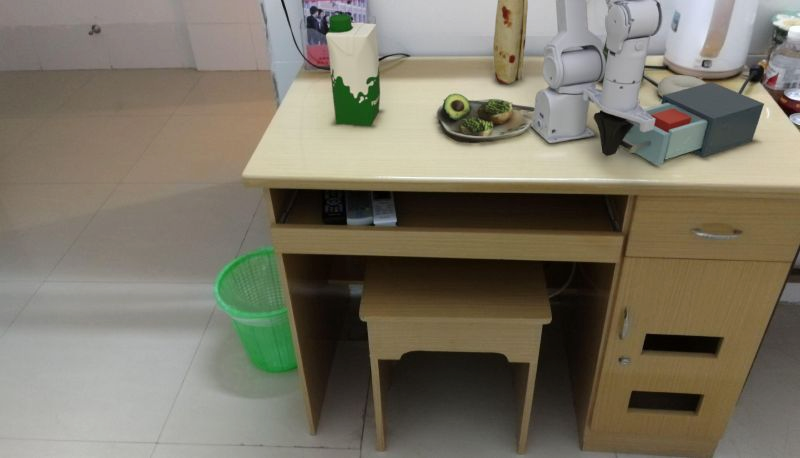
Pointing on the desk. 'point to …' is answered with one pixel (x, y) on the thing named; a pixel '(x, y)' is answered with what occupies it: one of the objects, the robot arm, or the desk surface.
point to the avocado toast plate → (481, 119)
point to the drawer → (666, 137)
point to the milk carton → (354, 70)
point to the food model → (509, 39)
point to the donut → (677, 84)
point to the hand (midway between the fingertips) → (609, 153)
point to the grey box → (719, 115)
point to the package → (670, 119)
